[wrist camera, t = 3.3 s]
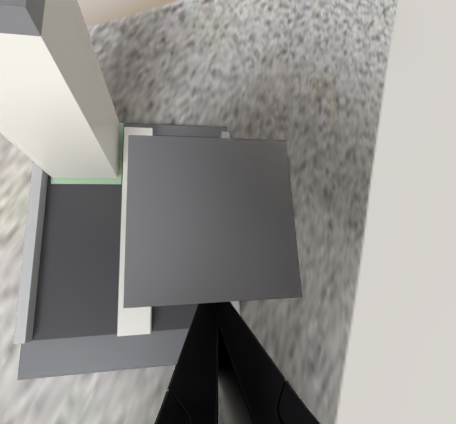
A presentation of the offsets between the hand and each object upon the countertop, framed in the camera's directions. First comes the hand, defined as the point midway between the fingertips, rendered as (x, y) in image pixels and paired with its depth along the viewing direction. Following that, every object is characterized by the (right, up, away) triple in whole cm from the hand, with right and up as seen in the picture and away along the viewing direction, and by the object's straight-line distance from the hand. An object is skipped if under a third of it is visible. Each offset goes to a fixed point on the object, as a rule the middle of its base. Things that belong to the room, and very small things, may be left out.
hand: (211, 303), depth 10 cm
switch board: (-5, +2, +8) cm, 9 cm away
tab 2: (-2, 0, +7) cm, 7 cm away
